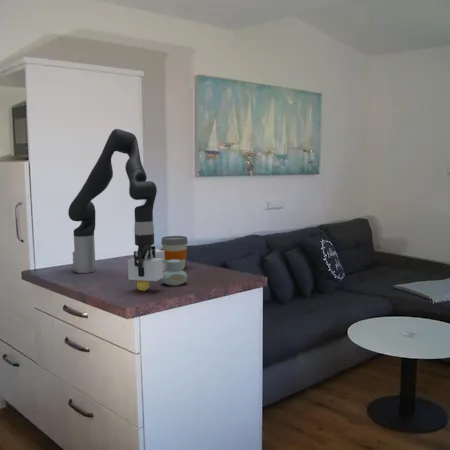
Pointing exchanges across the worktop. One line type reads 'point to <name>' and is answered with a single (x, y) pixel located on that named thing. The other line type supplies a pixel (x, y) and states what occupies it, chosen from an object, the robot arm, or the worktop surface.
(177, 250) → the reusable coffee cup
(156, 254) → the ink box
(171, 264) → the air freshener
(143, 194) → the robot arm
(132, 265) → the white rectangular block
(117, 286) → the worktop surface
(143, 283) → the ball
